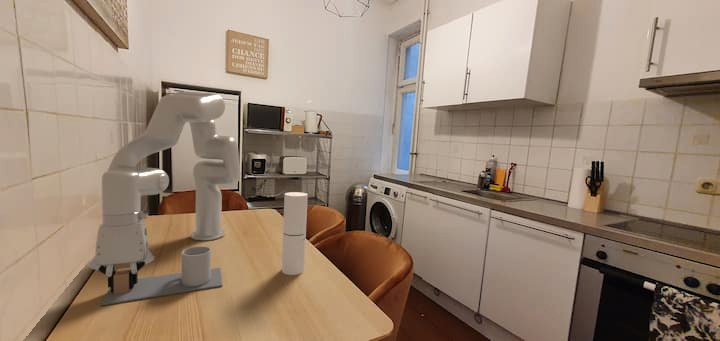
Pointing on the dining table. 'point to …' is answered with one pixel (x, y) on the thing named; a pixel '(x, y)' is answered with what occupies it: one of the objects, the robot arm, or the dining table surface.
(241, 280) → the dining table surface
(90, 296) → the dining table surface
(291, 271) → the cylindrical container
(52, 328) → the dining table surface
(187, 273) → the cup
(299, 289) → the dining table surface
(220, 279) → the strip
